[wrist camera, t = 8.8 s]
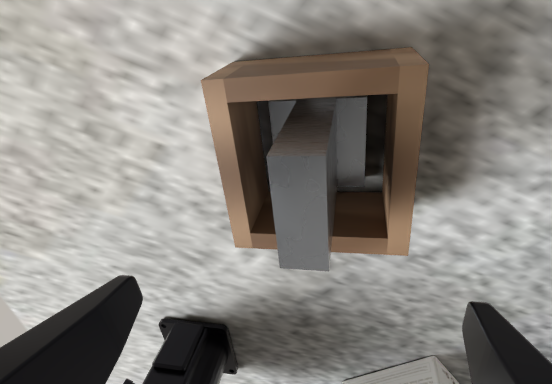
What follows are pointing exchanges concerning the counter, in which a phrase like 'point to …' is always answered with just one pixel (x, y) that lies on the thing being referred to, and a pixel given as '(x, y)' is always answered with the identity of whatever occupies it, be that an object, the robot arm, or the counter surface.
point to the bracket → (313, 172)
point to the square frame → (316, 84)
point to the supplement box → (409, 374)
